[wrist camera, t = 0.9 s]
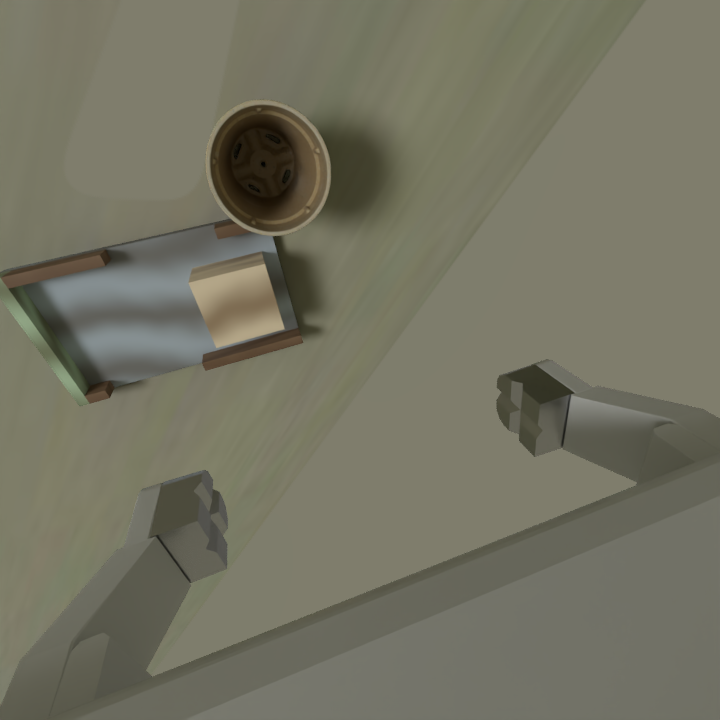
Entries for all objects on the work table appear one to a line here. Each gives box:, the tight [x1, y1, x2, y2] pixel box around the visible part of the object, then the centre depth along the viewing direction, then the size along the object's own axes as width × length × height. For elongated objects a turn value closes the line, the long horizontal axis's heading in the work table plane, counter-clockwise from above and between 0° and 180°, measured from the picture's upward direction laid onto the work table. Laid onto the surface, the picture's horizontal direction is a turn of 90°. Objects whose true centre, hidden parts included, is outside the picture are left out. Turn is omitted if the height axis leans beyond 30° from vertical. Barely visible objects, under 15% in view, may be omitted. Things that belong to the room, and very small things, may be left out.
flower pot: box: [206, 99, 331, 236], centre depth 33 cm, size 9×9×9 cm
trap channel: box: [0, 219, 303, 406], centre depth 39 cm, size 14×24×3 cm, turn 100°
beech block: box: [188, 251, 285, 348], centre depth 39 cm, size 7×7×4 cm
